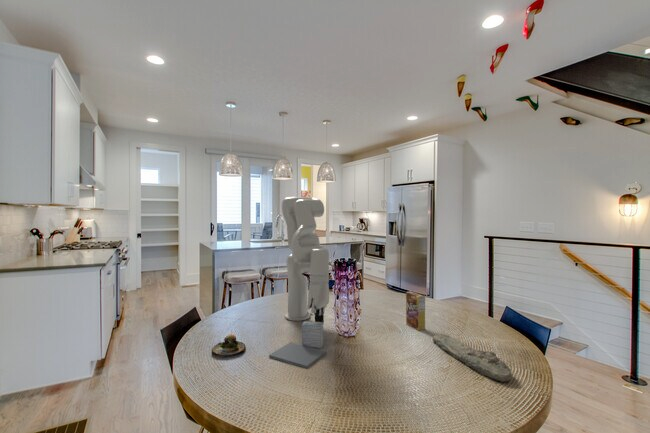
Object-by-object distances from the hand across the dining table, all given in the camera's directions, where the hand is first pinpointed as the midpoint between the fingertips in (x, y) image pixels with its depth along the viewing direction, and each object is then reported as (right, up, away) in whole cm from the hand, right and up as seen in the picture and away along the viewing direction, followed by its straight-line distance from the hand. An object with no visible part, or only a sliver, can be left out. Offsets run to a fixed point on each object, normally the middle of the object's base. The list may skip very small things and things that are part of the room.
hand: (319, 324), depth 126 cm
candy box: (+44, -7, +17) cm, 47 cm away
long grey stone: (+53, -8, -14) cm, 56 cm away
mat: (-7, -7, -13) cm, 16 cm away
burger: (-33, -7, -10) cm, 35 cm away
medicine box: (-2, -7, -4) cm, 8 cm away
